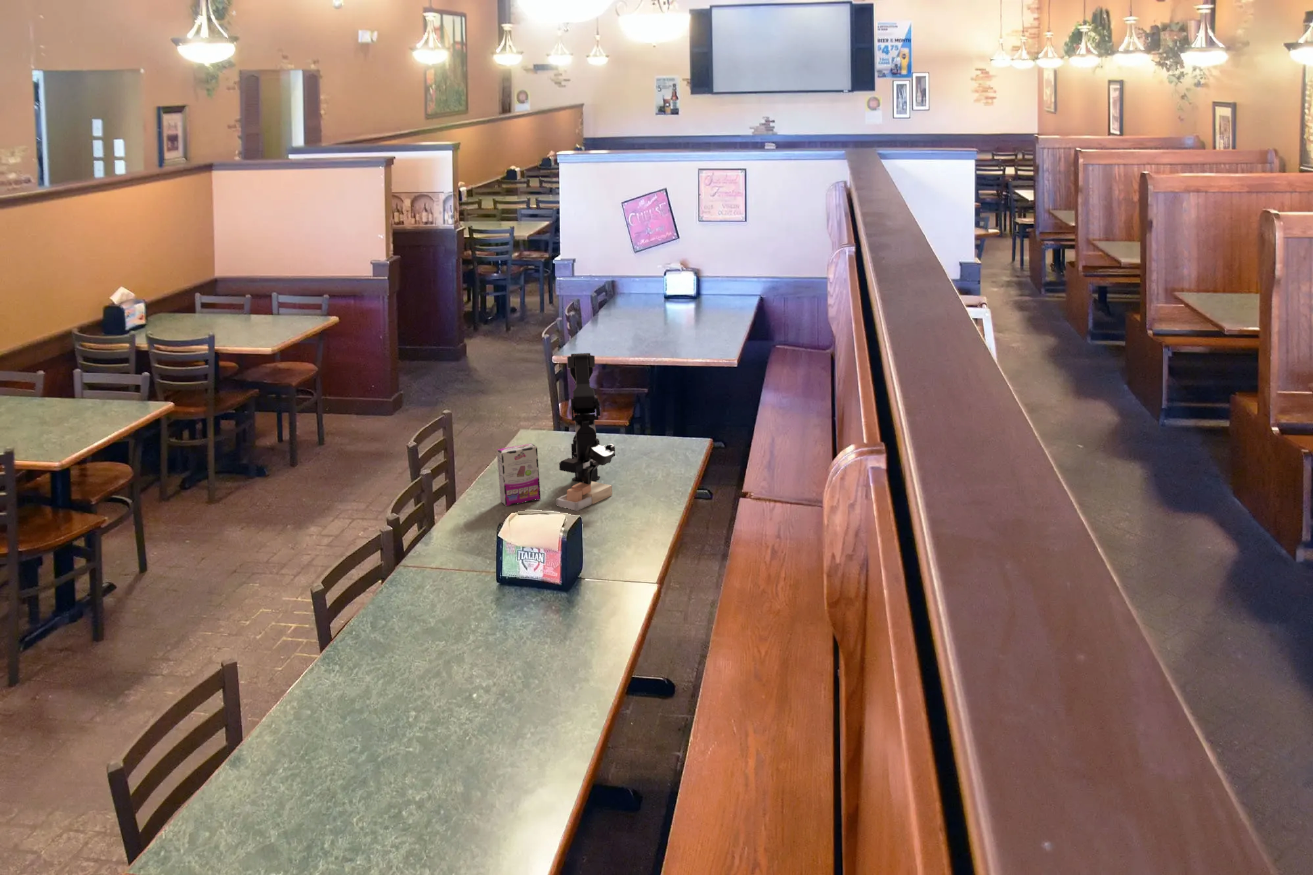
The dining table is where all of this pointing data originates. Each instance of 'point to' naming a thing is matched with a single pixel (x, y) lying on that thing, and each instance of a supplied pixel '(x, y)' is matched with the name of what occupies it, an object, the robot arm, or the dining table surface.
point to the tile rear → (582, 487)
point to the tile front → (574, 495)
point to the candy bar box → (518, 474)
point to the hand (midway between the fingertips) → (587, 487)
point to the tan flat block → (598, 492)
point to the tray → (573, 503)
